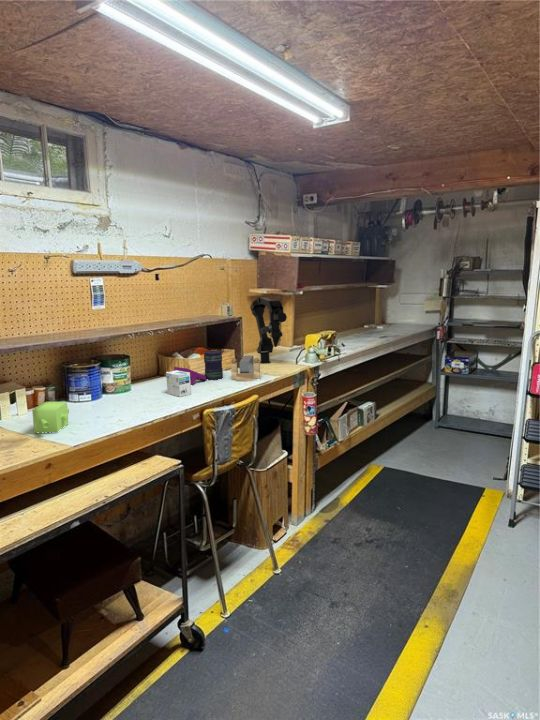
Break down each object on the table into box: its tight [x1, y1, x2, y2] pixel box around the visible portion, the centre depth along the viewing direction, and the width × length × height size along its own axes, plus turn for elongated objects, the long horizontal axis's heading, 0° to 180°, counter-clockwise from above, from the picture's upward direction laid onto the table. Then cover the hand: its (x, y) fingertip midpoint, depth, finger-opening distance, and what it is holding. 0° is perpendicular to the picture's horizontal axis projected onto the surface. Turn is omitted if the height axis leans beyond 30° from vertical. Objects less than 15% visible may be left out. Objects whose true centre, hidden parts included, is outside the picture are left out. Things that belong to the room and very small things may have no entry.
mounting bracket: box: [172, 366, 207, 386], centre depth 245 cm, size 9×8×18 cm
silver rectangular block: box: [239, 354, 255, 373], centre depth 258 cm, size 20×5×10 cm, turn 175°
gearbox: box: [32, 401, 70, 434], centre depth 174 cm, size 18×10×10 cm, turn 2°
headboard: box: [230, 357, 261, 382], centre depth 248 cm, size 6×15×12 cm, turn 86°
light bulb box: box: [165, 370, 192, 398], centre depth 222 cm, size 11×7×11 cm, turn 47°
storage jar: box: [203, 349, 224, 381], centre depth 254 cm, size 10×10×15 cm
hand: (275, 346), depth 282 cm, fingers closed
